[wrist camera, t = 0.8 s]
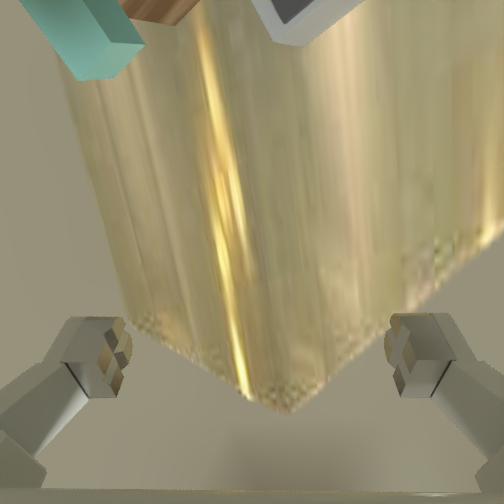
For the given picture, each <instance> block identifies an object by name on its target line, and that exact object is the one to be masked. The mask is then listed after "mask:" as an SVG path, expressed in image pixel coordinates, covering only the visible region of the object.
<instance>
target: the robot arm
mask: <svg viewBox="0 0 504 504" xmlns="http://www.w3.org/2000/svg"><path fill="white" fill-rule="evenodd" d="M390 325H391V327H392V328H390V329H389V330H388V331H386V334H385V338H384V348H385V354H386V357H387V360H388V363H389V364H391V365H392V366H393V367H394V368H395V372H394V374H393V378H394V381H395V384H396V386H397V389H398V392H399V395H400V397H408V398H431V401H432V402H433V403H434V404H435V405H436V406H437V407H438V408H439V409H440V410H441V411H442V412H443V413H444V414H445V415H446V416H447V418H448V419H449V420H450V421H451V422H452V423H453V424H454V425H455V426H456V427H457V428H458V429H459V430H460V431H461V432H462V433H463V434H464V435H465V436H466V437H467V438H468V439H469V441H470V442H471V443H472V444H473V445H474V446H475V447H476V448H477V449H478V450H479V451H480V452H481V453H482V454H483V455H484V456H485V457H486V458H487V459H488V461H487V462H486V463H485V464H484V465H483V466H482V467H481V468H480V469H479V470H478V471H477V473H476V475H475V478H476V480H477V483H478V485H479V488H480V490H481V492H482V493H446V492H439V493H438V492H437V493H436V492H351V491H346V492H344V491H251V490H156V489H153V490H152V489H150V490H149V489H57V488H56V489H55V488H53V489H52V488H41V486H42V484H43V481H44V479H45V477H46V474H47V472H46V469H45V467H43V466H42V465H41V464H40V463H39V462H38V461H37V460H36V459H35V457H36V456H37V455H38V454H39V453H40V452H41V451H42V449H43V448H44V447H45V446H46V445H47V444H48V443H49V442H50V441H51V440H52V439H53V438H54V437H55V436H56V435H57V433H58V432H59V431H60V430H61V429H62V428H63V427H64V426H65V425H66V424H67V423H68V422H69V421H70V420H71V419H72V417H73V416H74V415H75V414H76V413H77V412H78V411H79V410H80V409H81V408H82V407H83V406H84V405H85V404H86V402H87V401H88V400H89V399H88V398H116V397H117V395H118V392H119V390H120V387H121V384H122V381H123V378H124V376H123V374H122V371H121V370H122V369H123V368H125V367H126V366H127V365H128V364H129V361H130V358H131V355H132V339H131V336H130V334H129V333H128V332H126V331H125V330H124V327H125V322H124V320H123V318H122V317H71V318H69V319H68V320H67V321H66V322H65V324H64V326H63V327H62V329H61V330H60V332H59V334H58V336H57V337H56V339H55V341H54V342H53V344H52V346H51V347H50V349H49V351H48V352H47V354H46V356H45V357H44V359H43V361H42V362H41V363H36V364H35V365H34V366H32V367H31V368H29V369H28V370H26V371H25V372H24V373H22V374H21V375H20V376H18V377H17V378H16V379H14V380H13V381H11V382H10V383H9V384H7V385H6V386H5V387H3V388H2V389H1V390H0V504H504V375H502V374H501V373H500V372H498V371H497V370H495V369H494V368H492V367H491V366H490V365H488V364H487V363H486V362H484V361H478V360H477V358H476V357H475V355H474V353H473V352H472V350H471V349H470V347H469V345H468V344H467V342H466V340H465V338H464V337H463V335H462V333H461V332H460V330H459V328H458V327H457V325H456V324H455V322H454V320H453V318H452V317H451V315H449V314H448V313H394V314H393V315H392V316H391V319H390Z"/></svg>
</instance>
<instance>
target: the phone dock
mask: <svg viewBox="0 0 504 504" xmlns="http://www.w3.org/2000/svg"><path fill="white" fill-rule="evenodd" d="M251 1H252V3H253V5H254V7H255V8H256V10H257V12H258V14H259V16H260V18H261V20H262V21H263V23H264V25H265V27H266V29H267V31H268V33H269V34H270V36H271V38H272V40H273V42H274V43H280V44H286V45H292V46H298V47H304V46H306V45H307V44H308V43H310V42H311V41H312V40H314V39H315V38H316V37H317V36H319V35H320V34H321V33H323V32H324V31H325V30H326V29H328V28H329V27H330V26H332V25H333V24H334V23H336V22H337V21H338V20H339V19H341V18H342V17H343V16H345V15H346V14H347V13H349V12H350V11H351V10H352V9H354V8H355V7H356V6H358V5H359V4H360V3H362V2H363V1H364V0H251Z"/></svg>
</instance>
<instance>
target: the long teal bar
mask: <svg viewBox="0 0 504 504" xmlns="http://www.w3.org/2000/svg"><path fill="white" fill-rule="evenodd" d="M20 2H21V3H22V4H23V6H24V7H25V9H26V10H27V11H28V13H29V14H30V16H31V17H32V18H33V20H34V21H35V22H36V24H37V25H38V26H39V28H40V29H41V31H42V32H43V34H44V35H45V36H46V38H47V39H48V40H49V42H50V43H51V45H52V46H53V47H54V49H55V50H56V51H57V53H58V54H59V56H60V57H61V58H62V60H63V61H64V62H65V64H66V65H67V67H68V68H69V69H70V71H71V72H72V73H73V75H74V76H75V78H76V79H77V80H78V81H84V80H97V79H109V78H115V77H116V76H117V74H118V73H119V72H120V71H121V70H122V69H123V68H124V67H125V66H126V65H127V64H128V63H129V62H130V61H131V60H132V59H133V58H134V56H135V55H136V54H137V53H138V52H139V51H140V50H141V49H142V48H143V47H144V46H145V45H146V44H145V43H144V41H143V40H142V38H141V37H140V35H139V34H138V32H137V30H136V29H135V27H134V26H133V24H132V23H131V21H130V20H129V18H128V17H127V15H126V13H125V12H124V10H123V9H122V7H121V6H120V4H119V3H118V1H117V0H20Z"/></svg>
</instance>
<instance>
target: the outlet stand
mask: <svg viewBox="0 0 504 504" xmlns="http://www.w3.org/2000/svg"><path fill="white" fill-rule="evenodd" d="M117 1H118V3H119V4H120V6H121V7H122V9H123V10H124V12H125V13H126V15H127V17H128V18H131V19H137V20H143V21H149V22H155V23H161V24H167V25H173V26H175V25H176V24H177V23H178V22H179V21H180V20H181V19H182V18H183V17H184V16H185V15H186V14H187V13H188V12H189V11H190V10H191V9H192V8H193V7H194V6H195V5H196V4H197V3H198V2H199V1H200V0H117Z"/></svg>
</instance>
